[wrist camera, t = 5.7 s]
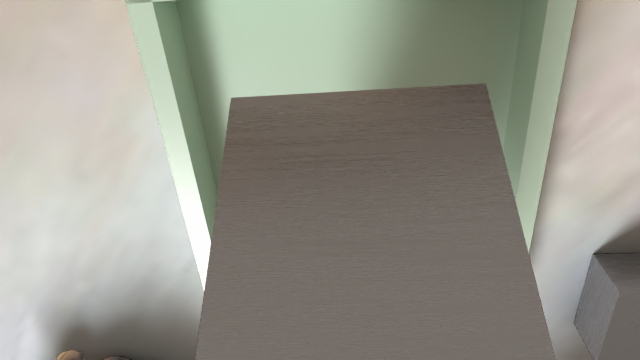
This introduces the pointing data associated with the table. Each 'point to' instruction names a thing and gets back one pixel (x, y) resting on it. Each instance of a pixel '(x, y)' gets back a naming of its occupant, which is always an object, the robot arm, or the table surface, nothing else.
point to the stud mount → (611, 307)
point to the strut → (368, 232)
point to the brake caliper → (74, 358)
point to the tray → (345, 73)
